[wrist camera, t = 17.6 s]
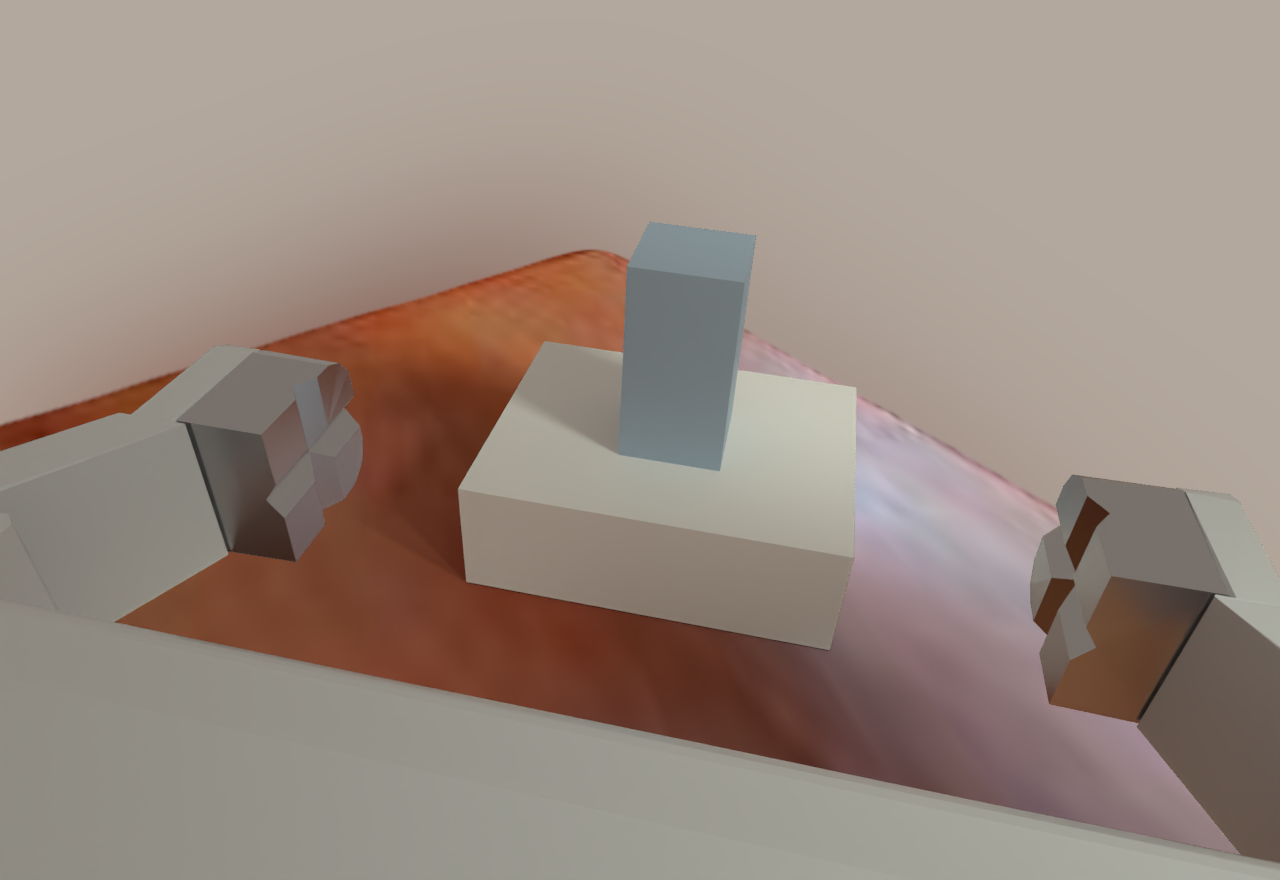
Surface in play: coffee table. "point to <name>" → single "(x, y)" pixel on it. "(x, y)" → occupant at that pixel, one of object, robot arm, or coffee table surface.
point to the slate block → (683, 343)
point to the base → (668, 504)
